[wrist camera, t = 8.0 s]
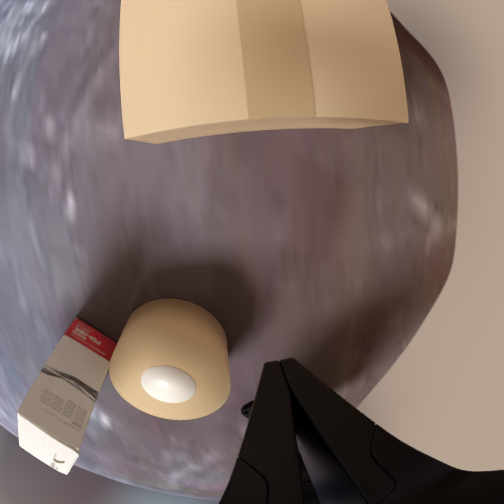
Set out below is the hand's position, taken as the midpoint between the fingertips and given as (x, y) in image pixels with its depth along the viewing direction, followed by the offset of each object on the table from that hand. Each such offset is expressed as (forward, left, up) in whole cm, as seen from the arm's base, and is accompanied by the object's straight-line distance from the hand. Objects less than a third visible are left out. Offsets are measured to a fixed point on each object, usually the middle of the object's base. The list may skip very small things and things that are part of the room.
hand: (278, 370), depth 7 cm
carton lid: (+9, -8, -7) cm, 14 cm away
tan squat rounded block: (-4, +10, -13) cm, 17 cm away
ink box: (0, +19, -13) cm, 23 cm away
